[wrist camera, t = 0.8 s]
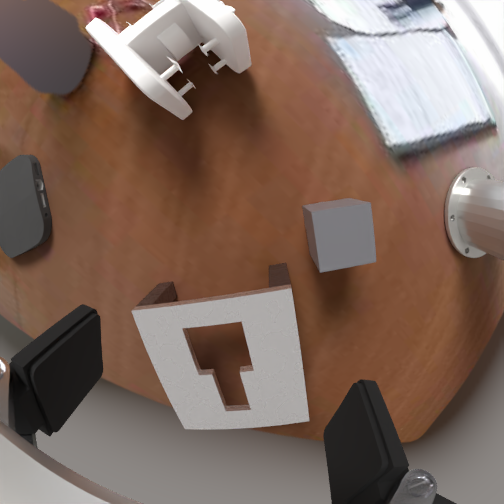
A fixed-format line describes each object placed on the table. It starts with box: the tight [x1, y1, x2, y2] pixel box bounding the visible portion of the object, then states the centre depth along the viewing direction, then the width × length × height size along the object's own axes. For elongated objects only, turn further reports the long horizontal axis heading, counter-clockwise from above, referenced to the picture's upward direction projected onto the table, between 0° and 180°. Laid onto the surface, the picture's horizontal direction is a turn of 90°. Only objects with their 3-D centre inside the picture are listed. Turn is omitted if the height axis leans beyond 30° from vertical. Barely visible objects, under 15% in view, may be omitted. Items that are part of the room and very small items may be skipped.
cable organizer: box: [86, 0, 251, 120], centre depth 21 cm, size 15×11×12 cm
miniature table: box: [132, 263, 309, 429], centre depth 31 cm, size 16×18×8 cm
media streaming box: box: [0, 155, 52, 258], centre depth 31 cm, size 15×15×3 cm
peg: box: [302, 198, 376, 273], centre depth 26 cm, size 5×5×10 cm
